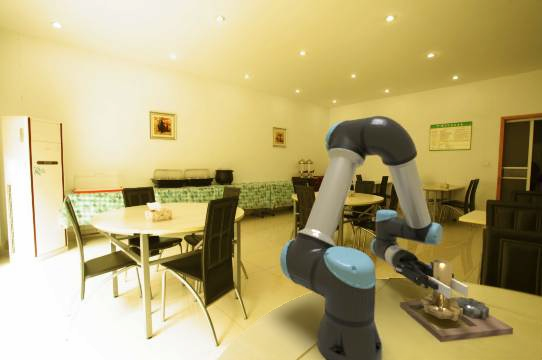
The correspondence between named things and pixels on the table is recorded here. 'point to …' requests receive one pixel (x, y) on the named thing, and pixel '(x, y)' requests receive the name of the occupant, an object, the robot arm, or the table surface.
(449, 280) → the planet gear
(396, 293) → the table surface
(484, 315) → the sun gear
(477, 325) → the plate
